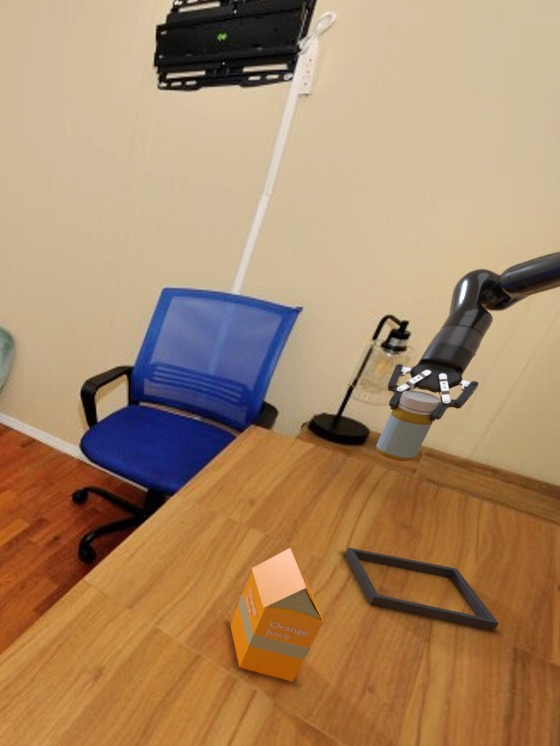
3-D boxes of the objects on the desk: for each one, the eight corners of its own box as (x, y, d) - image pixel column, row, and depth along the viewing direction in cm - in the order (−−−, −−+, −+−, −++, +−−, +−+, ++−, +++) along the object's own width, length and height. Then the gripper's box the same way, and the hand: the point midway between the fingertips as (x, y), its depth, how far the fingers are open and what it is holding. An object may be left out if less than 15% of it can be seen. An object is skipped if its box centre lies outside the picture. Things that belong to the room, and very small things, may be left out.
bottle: (384, 460, 115) (412, 402, 108) (368, 445, 121) (393, 388, 114) (421, 464, 114) (451, 404, 107) (402, 448, 120) (430, 391, 113)
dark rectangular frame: (450, 578, 99) (456, 568, 98) (491, 633, 88) (499, 623, 87) (343, 556, 105) (348, 547, 104) (368, 606, 94) (374, 596, 92)
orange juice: (278, 639, 88) (318, 553, 78) (292, 684, 80) (338, 595, 71) (228, 627, 90) (261, 541, 81) (237, 670, 83) (274, 581, 73)
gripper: (410, 334, 115) (372, 395, 114) (499, 351, 104) (459, 418, 104) (407, 350, 120) (371, 409, 119) (492, 368, 109) (453, 433, 109)
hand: (412, 413), depth 111 cm, fingers closed on bottle, 6 cm apart
